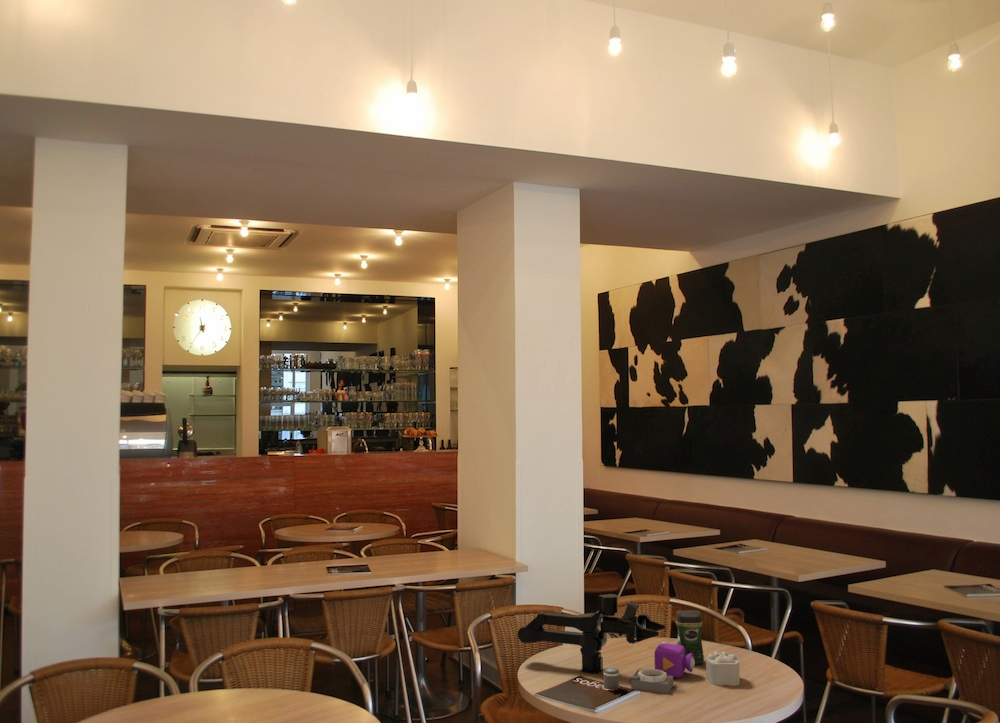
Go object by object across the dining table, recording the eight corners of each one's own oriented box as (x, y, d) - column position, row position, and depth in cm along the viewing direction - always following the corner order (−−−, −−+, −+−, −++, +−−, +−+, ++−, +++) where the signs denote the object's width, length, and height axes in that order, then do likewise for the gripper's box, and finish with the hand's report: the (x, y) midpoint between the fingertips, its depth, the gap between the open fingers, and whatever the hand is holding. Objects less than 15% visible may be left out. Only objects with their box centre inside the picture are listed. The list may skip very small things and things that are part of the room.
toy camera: (695, 680, 283) (694, 650, 283) (654, 678, 285) (654, 648, 286) (694, 670, 293) (694, 642, 294) (655, 668, 296) (654, 640, 296)
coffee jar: (701, 659, 307) (699, 608, 308) (705, 665, 299) (704, 613, 300) (674, 659, 307) (673, 608, 308) (678, 665, 299) (677, 613, 300)
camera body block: (631, 688, 275) (630, 674, 275) (638, 680, 283) (638, 667, 283) (667, 693, 270) (666, 679, 270) (673, 685, 278) (673, 671, 278)
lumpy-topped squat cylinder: (710, 685, 277) (710, 659, 278) (703, 673, 290) (702, 648, 291) (742, 686, 277) (741, 659, 277) (733, 673, 290) (732, 648, 290)
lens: (601, 690, 274) (601, 671, 274) (606, 685, 278) (606, 666, 279) (617, 692, 271) (616, 673, 272) (621, 687, 276) (621, 668, 276)
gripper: (609, 608, 283) (654, 612, 277) (624, 596, 300) (667, 600, 294) (610, 641, 283) (655, 646, 276) (625, 628, 300) (668, 632, 293)
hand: (661, 630), depth 285 cm, fingers open, 9 cm apart
